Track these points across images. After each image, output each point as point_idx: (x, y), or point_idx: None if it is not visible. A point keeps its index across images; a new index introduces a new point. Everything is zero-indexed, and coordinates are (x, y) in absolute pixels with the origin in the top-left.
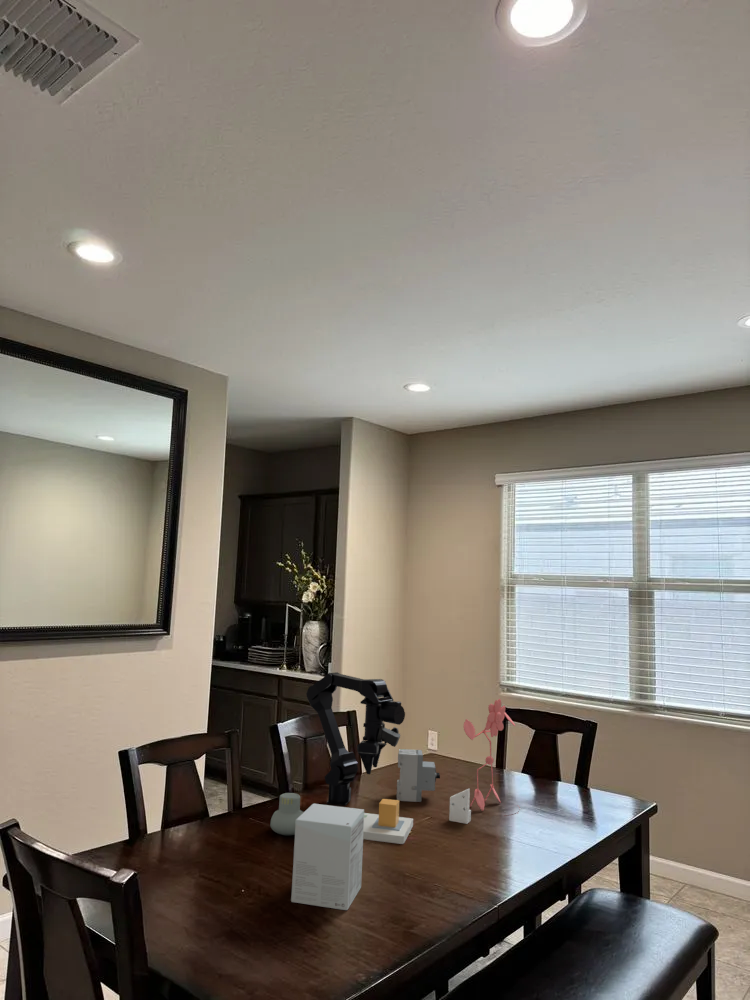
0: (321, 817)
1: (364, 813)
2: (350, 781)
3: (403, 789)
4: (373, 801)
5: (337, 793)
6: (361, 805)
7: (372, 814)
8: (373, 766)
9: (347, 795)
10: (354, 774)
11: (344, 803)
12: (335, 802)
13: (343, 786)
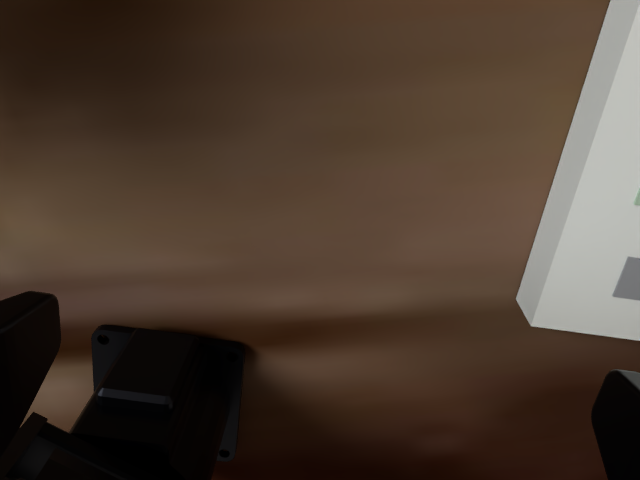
0: None
1: (590, 200)
2: (67, 433)
3: None
4: (39, 148)
5: (215, 452)
6: (185, 234)
7: (617, 127)
8: (55, 350)
9: (186, 375)
10: (78, 469)
11: (227, 357)
12: (228, 413)
13: (183, 460)
